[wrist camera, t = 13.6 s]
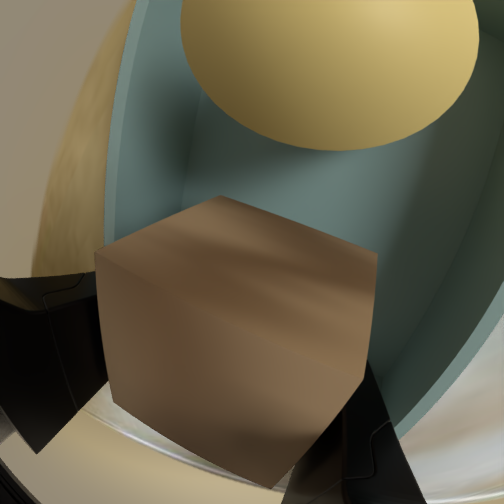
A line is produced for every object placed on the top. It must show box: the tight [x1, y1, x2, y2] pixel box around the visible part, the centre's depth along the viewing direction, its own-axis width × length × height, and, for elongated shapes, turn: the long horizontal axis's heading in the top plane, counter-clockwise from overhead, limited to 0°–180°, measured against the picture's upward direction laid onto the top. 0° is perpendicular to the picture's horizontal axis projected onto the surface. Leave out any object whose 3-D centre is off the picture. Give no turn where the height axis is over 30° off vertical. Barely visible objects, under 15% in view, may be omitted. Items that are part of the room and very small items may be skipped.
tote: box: [104, 0, 504, 440], centre depth 10 cm, size 13×17×5 cm
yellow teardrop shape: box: [180, 0, 479, 151], centre depth 6 cm, size 5×5×7 cm
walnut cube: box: [95, 195, 378, 489], centre depth 8 cm, size 5×5×5 cm
